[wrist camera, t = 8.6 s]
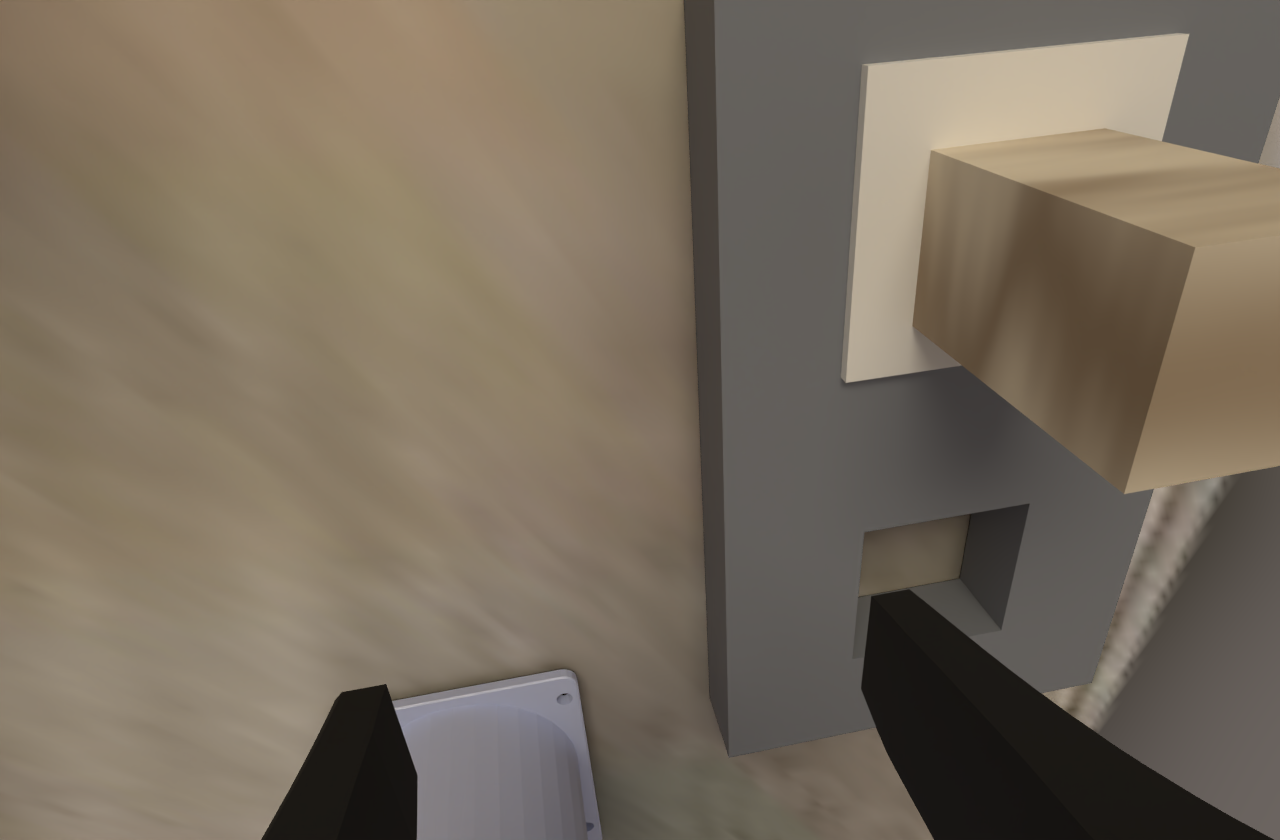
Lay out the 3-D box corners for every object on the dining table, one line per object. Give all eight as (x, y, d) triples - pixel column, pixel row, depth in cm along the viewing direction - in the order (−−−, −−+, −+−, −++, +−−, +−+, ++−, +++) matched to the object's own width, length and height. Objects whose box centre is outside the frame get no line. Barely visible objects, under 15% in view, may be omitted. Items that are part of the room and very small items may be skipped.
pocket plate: (1046, 631, 29) (1097, 689, 27) (709, 697, 27) (731, 765, 25) (1229, -57, 18) (1344, -63, 16) (683, -10, 16) (718, -9, 14)
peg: (1068, 302, 19) (1346, 453, 13) (912, 326, 18) (1123, 494, 12) (1105, 128, 17) (1457, 209, 11) (930, 149, 16) (1195, 247, 10)
